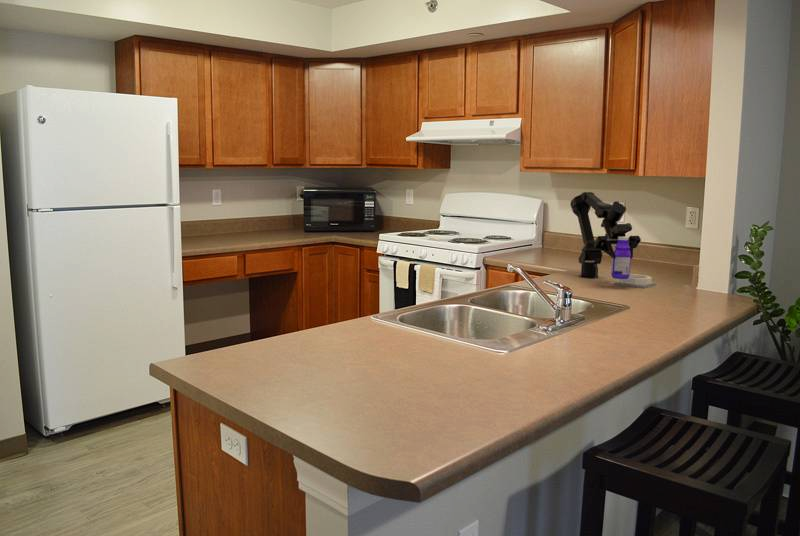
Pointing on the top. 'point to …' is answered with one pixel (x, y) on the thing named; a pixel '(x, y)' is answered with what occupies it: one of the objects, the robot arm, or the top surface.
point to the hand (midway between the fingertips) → (623, 258)
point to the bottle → (621, 259)
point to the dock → (636, 281)
